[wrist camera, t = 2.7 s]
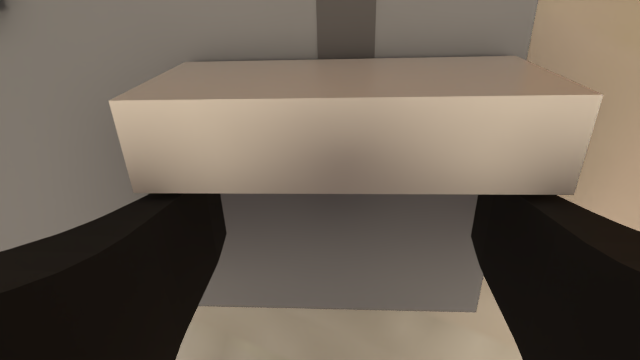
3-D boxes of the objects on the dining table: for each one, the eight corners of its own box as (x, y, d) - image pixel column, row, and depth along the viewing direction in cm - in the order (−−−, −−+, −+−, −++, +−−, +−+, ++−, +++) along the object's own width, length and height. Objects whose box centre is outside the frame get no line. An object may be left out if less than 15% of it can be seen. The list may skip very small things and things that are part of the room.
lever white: (502, 127, 11) (573, 194, 8) (196, 130, 12) (133, 193, 8) (516, 55, 10) (603, 94, 7) (185, 62, 11) (108, 100, 8)
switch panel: (463, 280, 17) (477, 314, 15) (-64, 271, 18) (-107, 301, 17) (551, -231, 10) (596, -277, 8) (-325, -175, 11) (-447, -203, 10)
